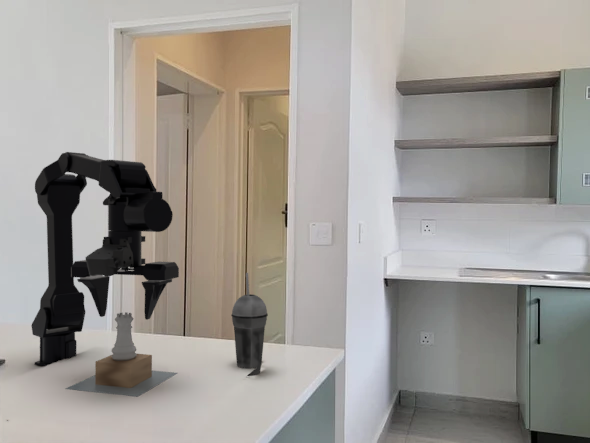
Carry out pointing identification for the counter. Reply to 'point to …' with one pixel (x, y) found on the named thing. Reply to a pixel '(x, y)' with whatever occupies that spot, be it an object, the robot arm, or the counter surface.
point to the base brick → (123, 371)
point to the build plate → (134, 391)
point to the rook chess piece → (124, 339)
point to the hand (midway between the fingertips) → (124, 317)
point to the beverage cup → (249, 330)
